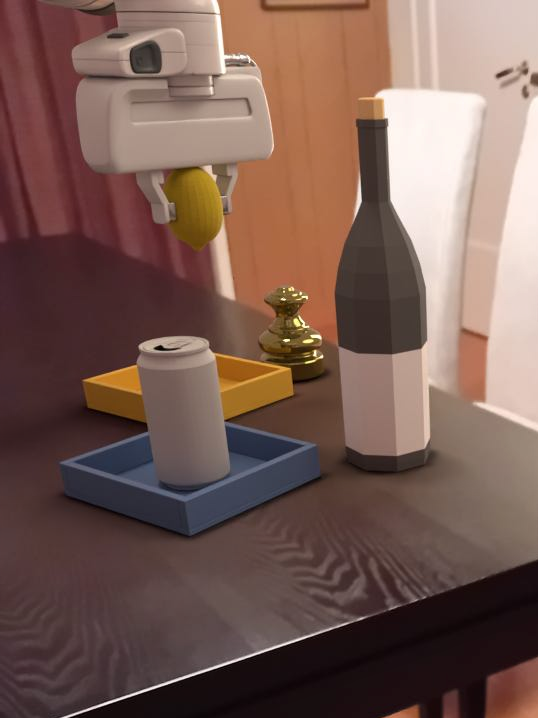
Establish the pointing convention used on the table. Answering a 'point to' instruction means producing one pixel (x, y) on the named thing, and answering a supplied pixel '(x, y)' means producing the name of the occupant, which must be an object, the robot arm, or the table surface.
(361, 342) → the wine bottle
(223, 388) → the yellow tray
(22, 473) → the table surface
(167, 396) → the beverage can
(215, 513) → the blue tray
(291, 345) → the gold chess piece
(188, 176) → the lemon
